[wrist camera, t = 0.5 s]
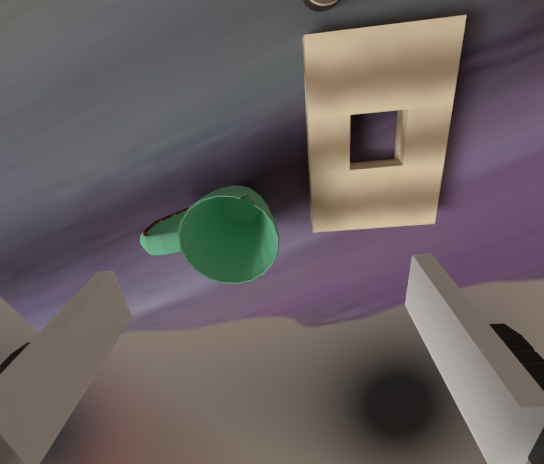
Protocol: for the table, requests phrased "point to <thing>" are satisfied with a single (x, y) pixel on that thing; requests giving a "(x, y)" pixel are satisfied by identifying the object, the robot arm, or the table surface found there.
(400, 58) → the board
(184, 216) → the mug
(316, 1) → the peg
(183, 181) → the table surface
